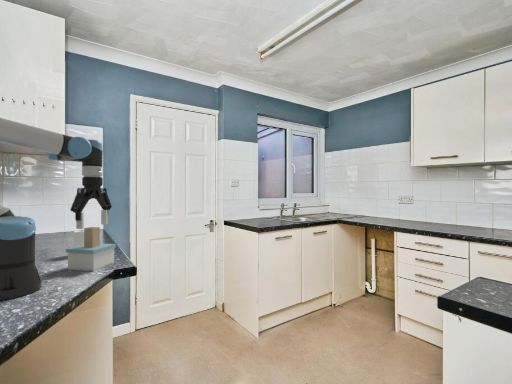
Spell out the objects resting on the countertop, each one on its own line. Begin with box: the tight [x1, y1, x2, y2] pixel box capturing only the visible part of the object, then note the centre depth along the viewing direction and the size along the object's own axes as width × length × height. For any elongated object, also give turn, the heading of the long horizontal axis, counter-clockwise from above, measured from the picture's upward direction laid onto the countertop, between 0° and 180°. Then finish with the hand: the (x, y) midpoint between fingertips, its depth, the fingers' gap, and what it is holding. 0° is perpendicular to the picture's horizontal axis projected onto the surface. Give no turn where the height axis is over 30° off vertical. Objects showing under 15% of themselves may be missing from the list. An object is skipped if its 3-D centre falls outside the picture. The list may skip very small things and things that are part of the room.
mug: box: [64, 229, 84, 249], centre depth 139 cm, size 12×8×12 cm
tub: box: [67, 248, 115, 272], centre depth 118 cm, size 12×12×7 cm
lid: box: [65, 226, 117, 254], centre depth 118 cm, size 13×13×10 cm
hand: (92, 226), depth 118 cm, fingers open, 13 cm apart
